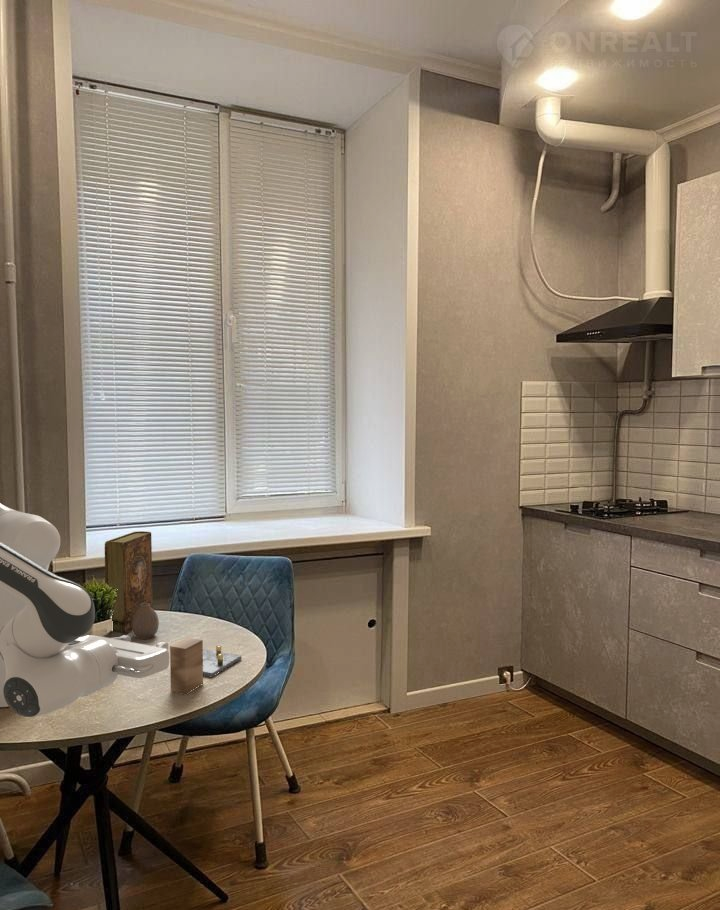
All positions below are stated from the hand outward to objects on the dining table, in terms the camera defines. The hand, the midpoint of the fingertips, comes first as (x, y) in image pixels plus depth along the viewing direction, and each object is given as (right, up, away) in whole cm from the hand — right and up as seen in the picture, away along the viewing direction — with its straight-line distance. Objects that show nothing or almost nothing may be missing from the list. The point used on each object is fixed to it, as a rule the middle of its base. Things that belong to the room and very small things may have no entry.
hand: (146, 642), depth 138 cm
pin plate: (+6, -12, +26) cm, 30 cm away
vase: (-14, -11, +46) cm, 50 cm away
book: (-21, -10, +55) cm, 60 cm away
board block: (+5, -13, +13) cm, 19 cm away
